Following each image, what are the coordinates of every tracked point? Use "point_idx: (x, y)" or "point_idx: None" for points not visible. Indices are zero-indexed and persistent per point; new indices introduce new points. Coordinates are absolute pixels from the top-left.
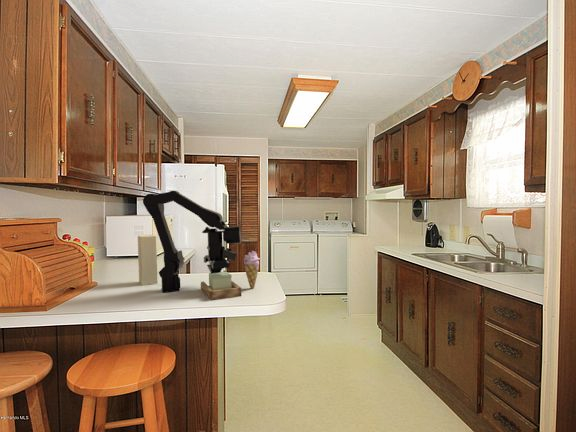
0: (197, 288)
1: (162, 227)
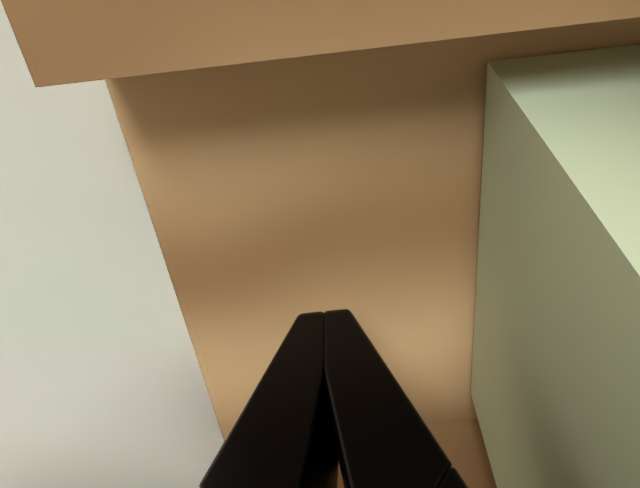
0: (165, 466)
1: None
